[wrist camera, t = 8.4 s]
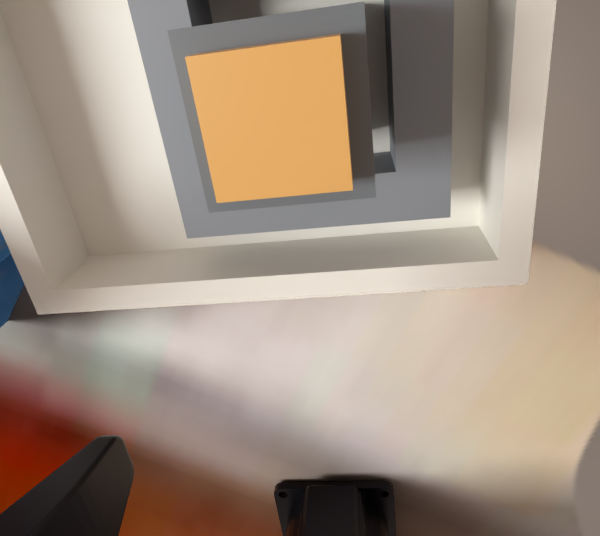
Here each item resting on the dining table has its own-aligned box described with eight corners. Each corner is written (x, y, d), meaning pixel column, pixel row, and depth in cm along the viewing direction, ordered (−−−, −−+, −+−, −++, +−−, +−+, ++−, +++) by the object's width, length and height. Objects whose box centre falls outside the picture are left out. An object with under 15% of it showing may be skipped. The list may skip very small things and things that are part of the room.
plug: (358, 2, 16) (366, 1, 9) (366, 130, 17) (377, 210, 11) (236, 20, 16) (153, 32, 9) (256, 142, 18) (199, 225, 11)
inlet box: (499, 240, 20) (528, 284, 17) (81, 271, 22) (37, 314, 19) (528, -183, 14) (580, -237, 11) (-49, -77, 16) (-143, -96, 13)
